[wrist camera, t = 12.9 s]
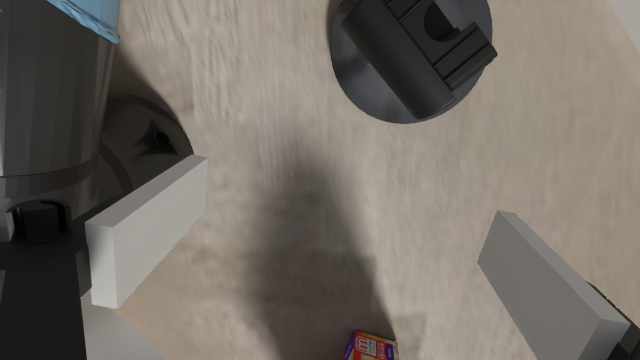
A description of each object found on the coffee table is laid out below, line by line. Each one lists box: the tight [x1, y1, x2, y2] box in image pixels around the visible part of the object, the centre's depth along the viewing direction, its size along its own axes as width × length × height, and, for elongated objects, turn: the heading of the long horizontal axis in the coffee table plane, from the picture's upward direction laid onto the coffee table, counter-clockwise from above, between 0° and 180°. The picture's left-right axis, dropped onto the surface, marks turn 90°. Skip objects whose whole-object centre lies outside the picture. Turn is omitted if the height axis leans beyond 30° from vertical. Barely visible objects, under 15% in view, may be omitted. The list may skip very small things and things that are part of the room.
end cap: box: [341, 0, 497, 120], centre depth 27 cm, size 10×7×7 cm
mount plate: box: [330, 0, 492, 124], centre depth 31 cm, size 14×14×2 cm
